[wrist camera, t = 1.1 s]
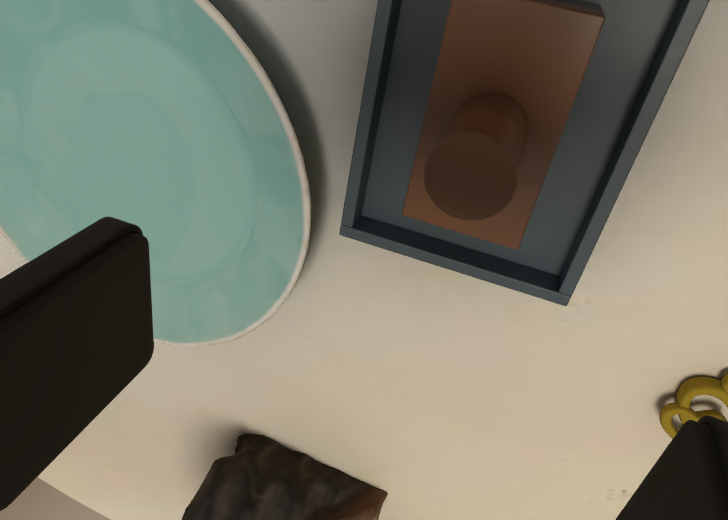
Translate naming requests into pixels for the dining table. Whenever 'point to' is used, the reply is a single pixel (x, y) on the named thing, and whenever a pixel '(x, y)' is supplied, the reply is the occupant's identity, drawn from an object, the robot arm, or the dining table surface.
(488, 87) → the rubber stamp
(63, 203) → the plate
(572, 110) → the tray
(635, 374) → the dining table surface
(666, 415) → the key
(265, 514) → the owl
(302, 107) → the dining table surface
